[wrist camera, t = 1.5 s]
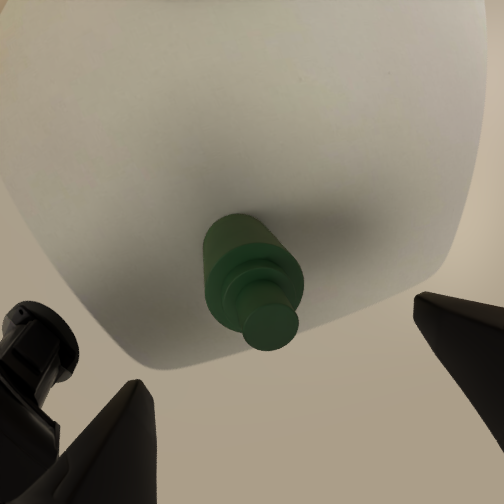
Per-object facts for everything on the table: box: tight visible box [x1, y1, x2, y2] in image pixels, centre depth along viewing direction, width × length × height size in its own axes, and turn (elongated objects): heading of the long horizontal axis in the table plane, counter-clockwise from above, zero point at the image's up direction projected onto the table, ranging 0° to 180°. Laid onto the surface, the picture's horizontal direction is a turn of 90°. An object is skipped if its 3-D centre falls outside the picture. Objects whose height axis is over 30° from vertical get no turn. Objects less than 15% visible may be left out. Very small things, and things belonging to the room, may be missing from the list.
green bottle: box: [203, 214, 304, 351], centre depth 14 cm, size 4×4×10 cm
